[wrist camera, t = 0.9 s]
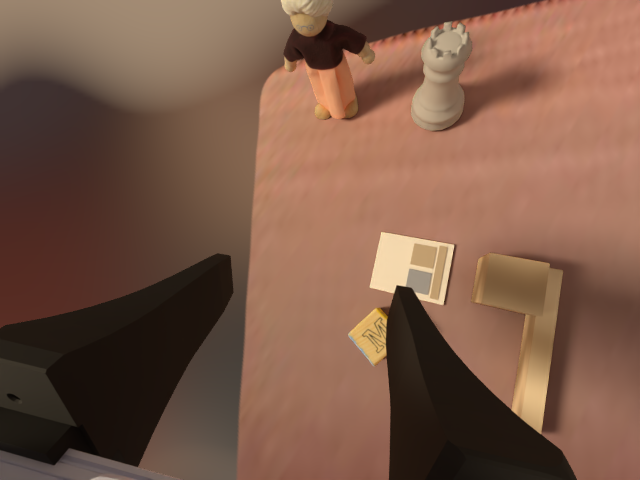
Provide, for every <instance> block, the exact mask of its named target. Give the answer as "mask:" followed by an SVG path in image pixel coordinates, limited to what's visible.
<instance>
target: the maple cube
mask: <svg viewBox="0 0 640 480" xmlns="http://www.w3.org/2000/svg"><path fill="white" fill-rule="evenodd" d="M549 267H550V263H545V262H540V261H534V260H528V259H523V258H517V257H512V256H506V255H500V254H495V253H489V254H487V255H485V256H483V257H481V258H479V259H478V264H477V270H476V276H475V282H474V288H473V294H472V299H471V302H473V303H478V304H482V305H486V306H491V307H495V308H499V309H504V310H508V311H512V312H517V313H521V314H527V315H534V316H541V317H543V309H544V302H545V295H546V288H547V281H548V274H549Z"/></svg>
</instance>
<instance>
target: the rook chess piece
mask: <svg viewBox="0 0 640 480" xmlns="http://www.w3.org/2000/svg"><path fill="white" fill-rule="evenodd" d="M451 26H452V21H450V22H445V23H444V28H443V29H441V30H439V28H438V27H436V28H434V29H433V30H432V31H431V37H430V38H428V40H426V41H425V43H424V45H423V47H422V49H421V58H422V60H423V62H424V68H423V72H424V74H425V79H424V82H423V84H422V85H421V86H420V87H419V88H418V89H417V91H416V93H415V95H414V97H413V99H412V105H411V116H412V118H413V120H414V122H415V123H416V124H417V125H418V126H420V127H421V128H423V129H427V130H430V131H433V130H442V129H445V128H447V127H450V126H452V125H453V124H454V123H455V122H456V121H457V120H458V119H459V118H460V116H461V114H462V112H463V106H464V91H463V89H462V87H461V86H460V84H459V75H460V74H461V72H462V70H463V68H464V62H465V61H466V60H467V59H468V58H469V56H470V54H471V52H472V41H471V39H470V38H469V32H466V33H465V32H464V31H465V27H466V26H465V25H463V24H462V23H459V24H458V26H457V28H453V27H451Z"/></svg>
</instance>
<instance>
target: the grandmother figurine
mask: <svg viewBox="0 0 640 480" xmlns="http://www.w3.org/2000/svg"><path fill="white" fill-rule="evenodd" d="M281 3H282V7H283V9H284V10H285V12H286V13H287V14H288V15H290V18H291V22H292V24H293V26H294V29H293V31H292V33H291V35H290V37H289V39H288V41H287V44H286V47H285V50H284V56H285V68H286V70H287V71H289V72H293V71H294V70H295V69H296V62H297V60H299V59H303V58H305V61H306V63H305V66H306V70H307V73H308V76H309V79H310V81H311V84H312V87H313V90H314V93H315V96H316V98H317V101H318V102H319V103H318V104H317V106H316V108H315V116H316V117H317V118H319V119H327V118H329V117H330V116H332V117H333V118H336V119H342V118H350V117H353V116H354V115H356V113H357V111H358V103H357V96H356V94H355V91H354V84H353V78H352V75H351V72H350V68H349V66H348V63H347V60H346V57H345V55H344V53H343V51H342V49H343V48H344V49H345V50H347V51H349V52H351V53H354V54H357V55H358V56H359V57H362V60H363V62H364V63H366V64H371V63H372V62H373V61H374V59H375V53H374V51H373V50H371V49H370V46H369V44H368V43H367V42H366V36H365V35H363V34H361V33H358V32H357V31H355V30H353V29H351V28H350V27H347V26H344V25H338V24H334V23H333V22H331V21H329V20H327V17H328V14H329V13H330V10H331V9H332V6H333V0H281Z"/></svg>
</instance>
